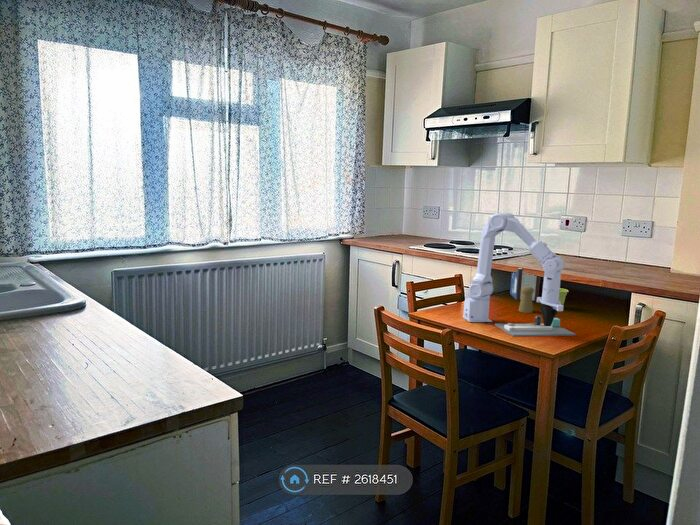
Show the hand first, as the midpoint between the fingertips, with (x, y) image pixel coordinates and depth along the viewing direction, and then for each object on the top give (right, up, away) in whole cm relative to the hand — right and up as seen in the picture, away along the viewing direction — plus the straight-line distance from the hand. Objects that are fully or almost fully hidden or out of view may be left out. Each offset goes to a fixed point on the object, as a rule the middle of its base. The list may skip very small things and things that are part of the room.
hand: (547, 325), depth 194 cm
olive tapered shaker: (+4, +2, +37) cm, 37 cm away
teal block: (+7, -2, +11) cm, 13 cm away
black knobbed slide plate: (-4, -1, +6) cm, 7 cm away
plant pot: (+21, +2, +46) cm, 51 cm away
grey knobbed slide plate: (-3, -2, +6) cm, 7 cm away
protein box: (+13, +6, +67) cm, 68 cm away
